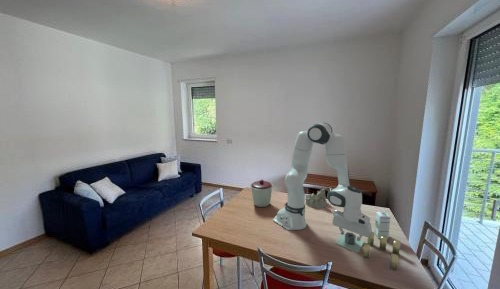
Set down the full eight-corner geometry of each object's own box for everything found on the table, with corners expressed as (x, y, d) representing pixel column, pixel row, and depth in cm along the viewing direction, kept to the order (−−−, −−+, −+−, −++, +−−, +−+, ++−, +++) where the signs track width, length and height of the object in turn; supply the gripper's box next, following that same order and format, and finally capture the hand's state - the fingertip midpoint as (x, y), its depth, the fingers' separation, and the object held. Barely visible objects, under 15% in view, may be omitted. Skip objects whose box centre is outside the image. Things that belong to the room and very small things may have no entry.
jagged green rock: (329, 202, 172) (328, 184, 170) (322, 210, 160) (321, 192, 157) (310, 198, 182) (310, 182, 179) (303, 206, 169) (302, 189, 167)
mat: (335, 243, 120) (335, 242, 120) (342, 234, 129) (342, 233, 129) (358, 253, 112) (358, 252, 112) (364, 242, 121) (364, 241, 121)
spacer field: (360, 256, 110) (361, 244, 109) (368, 241, 121) (369, 230, 120) (396, 271, 99) (398, 258, 98) (401, 254, 111) (403, 242, 109)
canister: (269, 211, 159) (269, 184, 156) (247, 207, 166) (246, 182, 162) (275, 201, 176) (275, 177, 172) (255, 198, 183) (254, 175, 179)
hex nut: (352, 246, 117) (353, 239, 116) (343, 242, 120) (344, 235, 119) (356, 241, 121) (356, 234, 120) (347, 238, 124) (347, 231, 124)
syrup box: (388, 239, 123) (391, 216, 121) (377, 238, 124) (380, 216, 122) (384, 233, 129) (386, 211, 126) (374, 232, 130) (376, 211, 127)
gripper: (331, 211, 122) (330, 232, 125) (370, 223, 109) (368, 247, 111) (335, 207, 127) (334, 228, 129) (373, 218, 113) (371, 241, 116)
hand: (350, 237), depth 120 cm, fingers open, 7 cm apart
